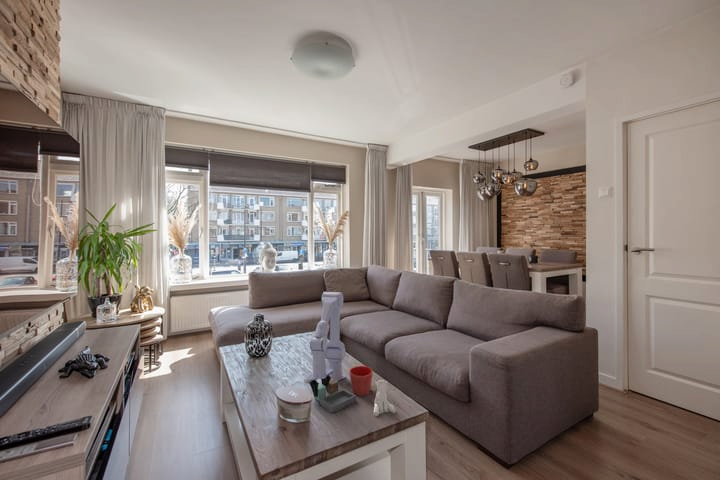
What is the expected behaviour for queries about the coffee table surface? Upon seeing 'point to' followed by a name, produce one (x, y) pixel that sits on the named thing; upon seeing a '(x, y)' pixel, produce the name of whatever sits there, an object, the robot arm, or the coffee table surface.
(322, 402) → the tray
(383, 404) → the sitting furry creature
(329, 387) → the walnut block
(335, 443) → the coffee table surface
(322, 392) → the teal block
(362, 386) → the flower pot
